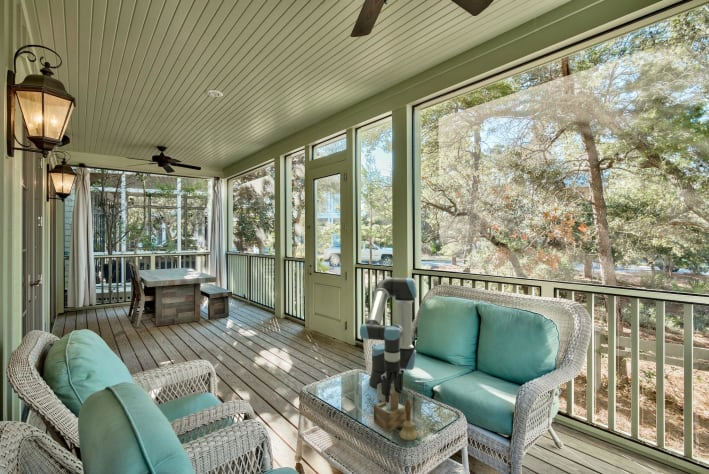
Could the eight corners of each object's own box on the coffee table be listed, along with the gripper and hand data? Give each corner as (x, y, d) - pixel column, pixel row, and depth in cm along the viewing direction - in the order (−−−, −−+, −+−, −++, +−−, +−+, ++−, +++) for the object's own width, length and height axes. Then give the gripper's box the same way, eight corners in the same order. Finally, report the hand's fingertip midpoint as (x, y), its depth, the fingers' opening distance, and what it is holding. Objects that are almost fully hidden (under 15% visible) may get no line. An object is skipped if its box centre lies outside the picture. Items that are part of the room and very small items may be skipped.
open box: (395, 412, 175) (395, 397, 175) (410, 422, 166) (410, 406, 166) (373, 421, 167) (373, 405, 167) (388, 431, 158) (388, 415, 158)
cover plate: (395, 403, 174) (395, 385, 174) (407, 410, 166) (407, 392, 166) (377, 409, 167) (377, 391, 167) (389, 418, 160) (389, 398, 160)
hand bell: (411, 442, 150) (411, 406, 150) (395, 435, 155) (395, 400, 155) (421, 434, 156) (421, 399, 156) (405, 427, 162) (405, 394, 161)
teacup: (381, 394, 195) (381, 380, 195) (399, 398, 190) (399, 384, 190) (371, 405, 183) (371, 390, 183) (390, 410, 178) (390, 394, 178)
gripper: (400, 353, 174) (400, 399, 175) (373, 360, 165) (373, 408, 165) (410, 358, 168) (410, 405, 168) (383, 365, 159) (383, 415, 159)
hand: (392, 406), depth 167 cm, fingers closed on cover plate, 4 cm apart
